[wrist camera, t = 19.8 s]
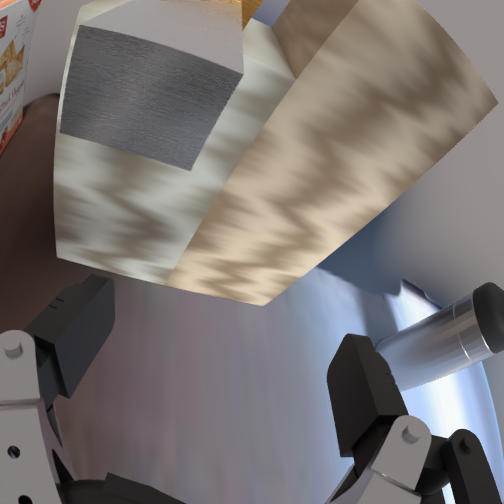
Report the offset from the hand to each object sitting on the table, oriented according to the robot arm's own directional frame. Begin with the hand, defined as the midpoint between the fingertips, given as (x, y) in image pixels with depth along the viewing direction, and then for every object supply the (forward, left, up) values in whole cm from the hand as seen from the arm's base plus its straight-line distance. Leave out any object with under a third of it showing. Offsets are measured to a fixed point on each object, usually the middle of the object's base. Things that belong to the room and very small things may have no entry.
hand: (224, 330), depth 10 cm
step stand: (-2, -19, -19) cm, 27 cm away
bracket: (+4, -12, +5) cm, 13 cm away
